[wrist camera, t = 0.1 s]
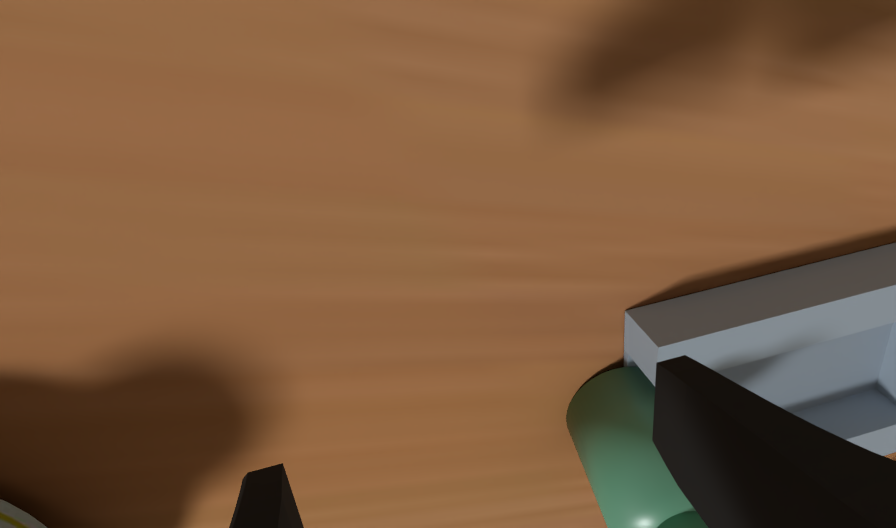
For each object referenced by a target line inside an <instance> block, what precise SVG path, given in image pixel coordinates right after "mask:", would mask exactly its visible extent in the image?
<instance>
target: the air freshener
mask: <svg viewBox="0 0 896 528" xmlns="http://www.w3.org/2000/svg"><path fill="white" fill-rule="evenodd" d="M0 528H47V527H46V526H45V525H43V524H42V523H41V522H39V521H38V520H36V519H35V518H34V517H32V516H31V515H30V514H28V513H26V512H24V511H22V510H21V509H19V508H17V507H15V506H13V505H12V504H10V503H8V502H6V501H3V500H1V499H0Z"/></svg>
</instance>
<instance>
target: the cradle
mask: <svg viewBox="0 0 896 528" xmlns="http://www.w3.org/2000/svg"><path fill="white" fill-rule="evenodd" d="M683 355H686V356H688V357H690V358H692V359H694V360H696V361H697V362H699V363H701V364H703V365H705V366H707V367H708V368H710V369H712V370H714V371H716V372H717V373H719V374H721V375H723V376H724V377H726V378H728V379H730V380H732V381H733V382H735V383H737V384H739V385H741V386H742V387H744V388H746V389H748V390H750V391H751V392H753V393H755V394H757V395H759V396H760V397H762V398H764V399H766V400H768V401H770V402H771V403H773V404H775V405H777V406H779V407H781V408H783V409H784V410H786V411H788V412H790V413H792V414H794V415H796V416H798V417H800V418H802V419H804V420H806V421H808V422H810V423H812V424H814V425H816V426H818V427H820V428H822V429H824V430H826V431H828V432H830V433H832V434H835V435H837V436H839V437H841V438H843V439H845V440H847V441H849V442H851V443H854V444H856V445H858V446H860V447H863V448H865V449H867V450H869V451H872V452H874V453H876V454H879V455H881V456H884V455H888V454H891V453H894V452H896V243H892V244H888V245H884V246H880V247H876V248H872V249H868V250H864V251H860V252H856V253H852V254H848V255H844V256H840V257H836V258H832V259H828V260H824V261H820V262H816V263H812V264H808V265H805V266H801V267H797V268H793V269H789V270H785V271H781V272H777V273H773V274H769V275H765V276H761V277H757V278H753V279H749V280H745V281H741V282H737V283H733V284H729V285H725V286H721V287H717V288H713V289H709V290H705V291H701V292H698V293H694V294H690V295H686V296H682V297H678V298H674V299H670V300H666V301H662V302H658V303H654V304H650V305H646V306H642V307H638V308H634V309H630V310H626V311H625V334H624V367H639V368H640V369H641V370H642V372H643V373H644V374H645V375H646V376H647V378H648V379H649V380H650V381H651V382H652V384H653V385H654V386H655V380H656V363H657V362H661V361H665V360H668V359H672V358H676V357H680V356H683Z"/></svg>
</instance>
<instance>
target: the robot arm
mask: <svg viewBox="0 0 896 528" xmlns="http://www.w3.org/2000/svg"><path fill="white" fill-rule="evenodd" d="M652 441H653V443H654V444H655V446H656V448H657V450H658V452H659V454H660V455H661V457H662V459H663V461H664V463H665V465H666V466H667V468H668V470H669V472H670V473H671V475H672V477H673V478H674V480H675V482H676V483H677V485H678V487H679V488H680V490H681V491H682V492H683V494H684V495H685V497H686V498H687V499H688V501H689V502H690V503H691V505H692V506H693V507H694V509H695V510H696V512H697V513H698V514H699V516H700V517H701V518H702V520H703V521H704V522H705V524H706V525H707V526H708V528H896V461H894V460H891V459H889V458H886V457H884V456H881V455H879V454H876V453H874V452H872V451H869V450H867V449H865V448H863V447H860V446H858V445H856V444H854V443H851V442H849V441H847V440H845V439H843V438H841V437H839V436H837V435H835V434H832V433H830V432H828V431H826V430H824V429H822V428H820V427H818V426H816V425H814V424H812V423H810V422H808V421H806V420H804V419H802V418H800V417H798V416H796V415H794V414H792V413H790V412H788V411H786V410H784V409H783V408H781V407H779V406H777V405H775V404H773V403H771V402H770V401H768V400H766V399H764V398H762V397H760V396H759V395H757V394H755V393H753V392H751V391H750V390H748V389H746V388H744V387H742V386H741V385H739V384H737V383H735V382H733V381H732V380H730V379H728V378H726V377H724V376H723V375H721V374H719V373H717V372H716V371H714V370H712V369H710V368H708V367H707V366H705V365H703V364H701V363H699V362H697V361H696V360H694V359H692V358H690V357H688V356H686V355H683V356H680V357H676V358H672V359H668V360H665V361H661V362H657V363H656V380H655V399H654V418H653V437H652ZM229 528H304V527H303V524H302V521H301V518H300V515H299V512H298V509H297V506H296V503H295V500H294V496H293V493H292V490H291V487H290V484H289V481H288V478H287V475H286V472H285V469H284V466H283V463H282V464H278V465H275V466H271V467H267V468H263V469H260V470H256V471H252V472H249V473H247V474H246V476H245V477H244V478H243V481H242V485H241V489H240V493H239V497H238V500H237V504H236V507H235V511H234V514H233V517H232V521H231V524H230V527H229Z"/></svg>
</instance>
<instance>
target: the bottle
mask: <svg viewBox="0 0 896 528" xmlns="http://www.w3.org/2000/svg"><path fill="white" fill-rule="evenodd" d="M654 399H655V386H654V385H653V384H652V382H651V381H650V380H649V379H648V378H647V376H646V375H645V374H644V373H643V372H642V370H641V369H640V368H639V367H622V368H617V369H613V370H610V371H607V372H604V373H602V374H600V375H598V376H596V377H595V378H593V379H591V380H590V381H589V382H587V383H586V384H585V385H584V386H583V387H581V388H580V389H579V391H578V392H577V393H576V394H575V396H574V397H573V399H572V400H571V402H570V404H569V407H568V410H567V415H566V422H567V427H568V430H569V432H570V435H571V437H572V440H573V442H574V445H575V447H576V450H577V452H578V455H579V457H580V460H581V462H582V465H583V467H584V470H585V472H586V475H587V477H588V480H589V482H590V485H591V487H592V490H593V492H594V494H595V497H596V499H597V502H598V504H599V507H600V509H601V512H602V514H603V517H604V519H605V522H606V524H607V527H608V528H708V526H707V525H706V524H705V522H704V521H703V520H702V518H701V517H700V516H699V514H698V513H697V512H696V510H695V509H694V507H693V506H692V505H691V503H690V502H689V501H688V499H687V498H686V497H685V495H684V494H683V492H682V491H681V490H680V488H679V487H678V485H677V483H676V482H675V480H674V478H673V477H672V475H671V473H670V472H669V470H668V468H667V466H666V465H665V463H664V461H663V459H662V457H661V455H660V454H659V452H658V450H657V448H656V446H655V444H654V443H653V441H652V437H653V418H654Z"/></svg>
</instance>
